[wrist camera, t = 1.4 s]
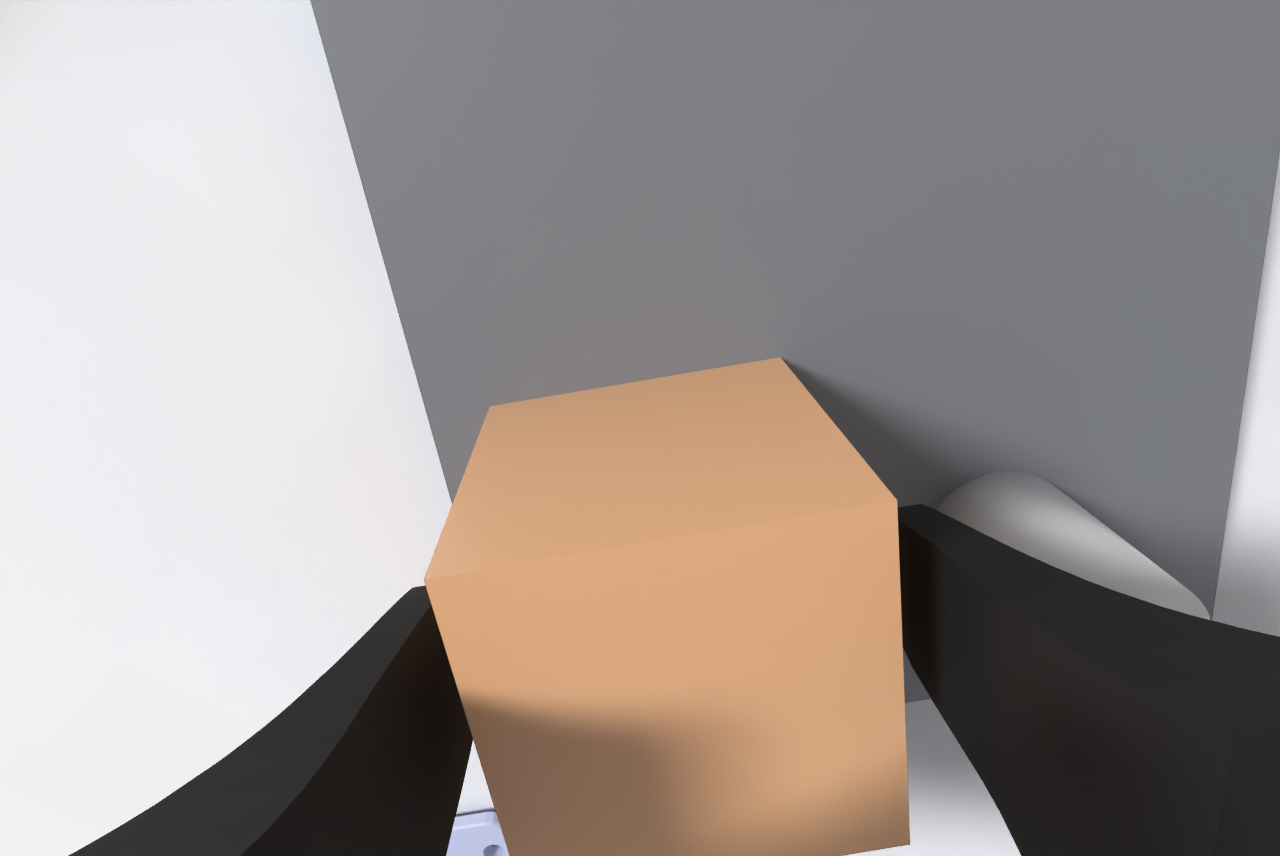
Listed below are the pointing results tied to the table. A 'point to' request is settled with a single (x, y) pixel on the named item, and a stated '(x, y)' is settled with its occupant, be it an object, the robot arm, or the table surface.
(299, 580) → the table surface
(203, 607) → the table surface
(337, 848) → the robot arm
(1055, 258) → the duct panel
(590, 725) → the orange cube
